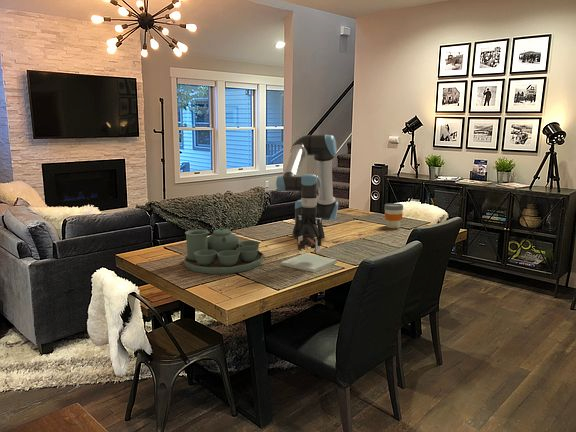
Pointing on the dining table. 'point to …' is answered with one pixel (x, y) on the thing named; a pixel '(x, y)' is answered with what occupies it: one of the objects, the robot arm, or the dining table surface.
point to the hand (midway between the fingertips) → (309, 250)
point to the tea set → (220, 252)
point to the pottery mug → (307, 244)
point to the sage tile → (309, 262)
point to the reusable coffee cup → (393, 215)
